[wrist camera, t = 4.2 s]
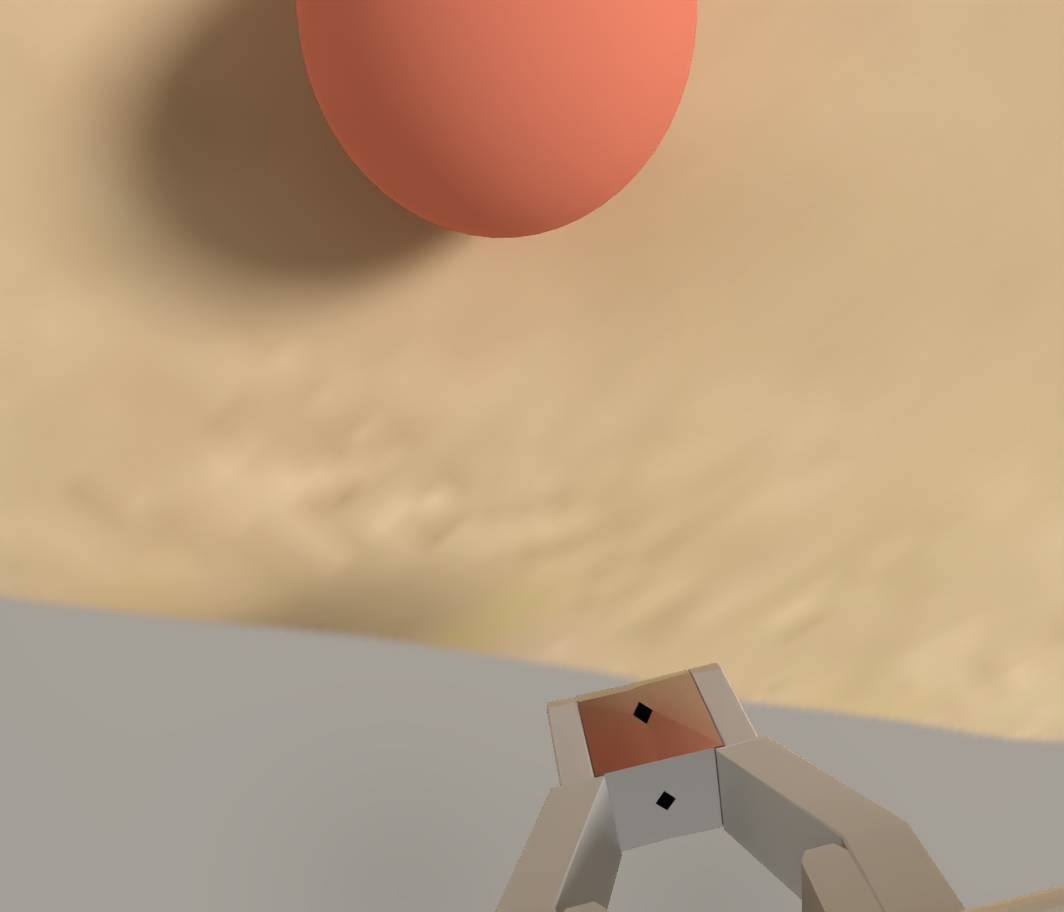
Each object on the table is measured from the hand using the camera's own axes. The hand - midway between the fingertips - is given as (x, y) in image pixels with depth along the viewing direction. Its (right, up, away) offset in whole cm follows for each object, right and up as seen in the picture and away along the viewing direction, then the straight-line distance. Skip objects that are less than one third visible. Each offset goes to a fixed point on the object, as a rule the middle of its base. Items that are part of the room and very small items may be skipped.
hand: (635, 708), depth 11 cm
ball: (-2, +11, -1) cm, 11 cm away
